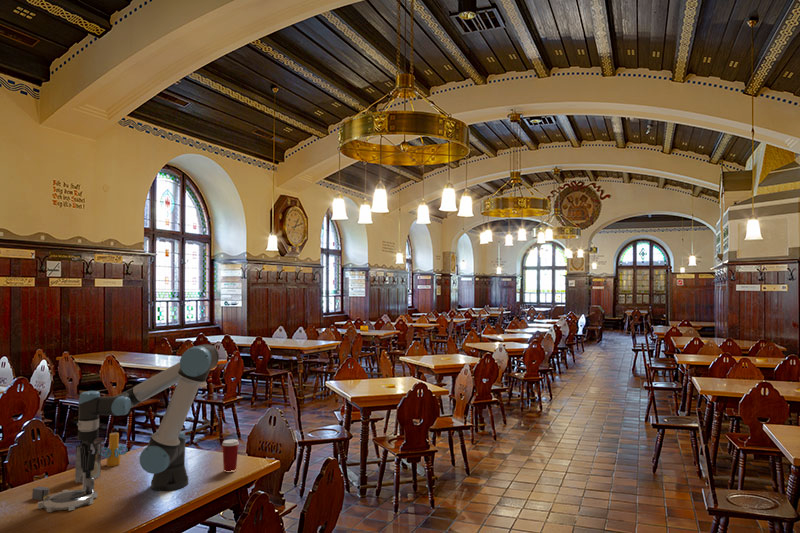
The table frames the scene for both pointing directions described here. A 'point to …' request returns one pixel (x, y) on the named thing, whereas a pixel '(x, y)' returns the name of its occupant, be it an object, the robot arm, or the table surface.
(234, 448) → the paper cup
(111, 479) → the table surface
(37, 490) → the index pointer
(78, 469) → the coffee box
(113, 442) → the yellow and blue toy
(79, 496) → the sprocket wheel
